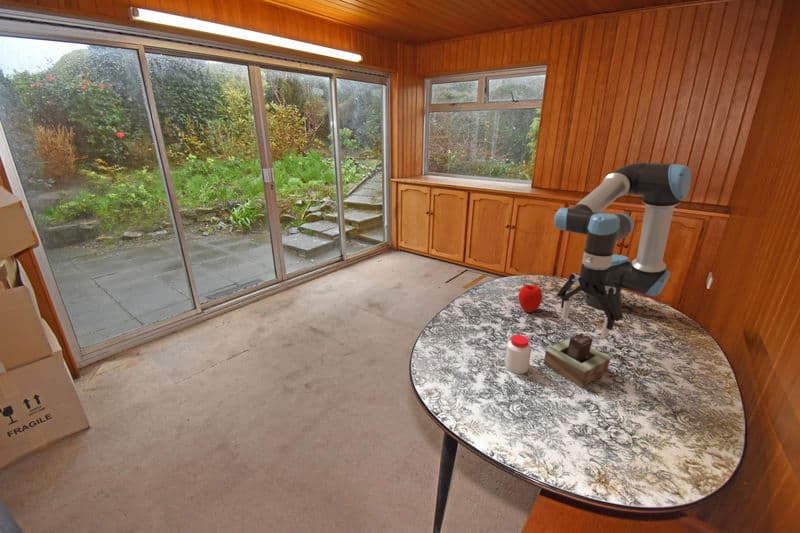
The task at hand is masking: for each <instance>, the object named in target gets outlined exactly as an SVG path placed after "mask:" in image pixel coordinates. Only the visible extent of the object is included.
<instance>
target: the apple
mask: <svg viewBox="0 0 800 533" xmlns="http://www.w3.org/2000/svg"><path fill="white" fill-rule="evenodd" d="M517 299H518V302H519V306H520V307H521V309H522V310H523V311H525V312H526V313H532V312H534V311H536V310H537V309H538V308H539V306H540V305H541V303H542V301H543V291H542V289H541V288H540V287H539V286H537V285H533V284H532V285H531V284H526V285H524V286H522V287H521V288H520V290H519V292H518V298H517Z"/></svg>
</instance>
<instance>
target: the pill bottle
mask: <svg viewBox="0 0 800 533" xmlns="http://www.w3.org/2000/svg"><path fill="white" fill-rule="evenodd" d="M529 342H530V340H529V338H528V337H527V336H525V335H522V334H514V335H512V336H511V337H510V340H508V341H507V344H506V351H505V360H504V367H505V368H506V370H507V371H509V372H511V373H514V374H519V375H520V374H525V373H527V372H528V371H529V369H530V368H529V367H530V360H531V355H532V354H531V353H532V345H531V344H530V343H529Z"/></svg>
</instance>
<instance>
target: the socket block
mask: <svg viewBox="0 0 800 533" xmlns="http://www.w3.org/2000/svg"><path fill="white" fill-rule="evenodd" d="M570 338H571V337H569V338H567V339H565V340H562V341H561V342H558V343H557V344H554V345H552V346H550V347H548V348H546V349H545V354H544V361H543V365H544V366H546V367H548V368H549V369H551V370H552V371H554V372H555V373H558V374H559V375H561V376H562V377H564V378H566V380H569V382H572V383H573V384H575V385H577V386H578V387H580V388H583V387H585V386H588V384H589V383H592V382H594V381H595V380H596V379H598V378H600V377H601V376H604V375H605V374H607V373H608V369H609V366H610V361H611V356H609V355H607V354H605V353H603V352H602V351H600V350H597V349H596V348H594V347H592V346H591V348H590V351H589V355H588V359H587V361H585V362H583V363H580V362H578V361H576V360H575V359H573V358H571V357H569V356H567V351H568V346H569V342H570Z"/></svg>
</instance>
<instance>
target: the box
mask: <svg viewBox="0 0 800 533" xmlns="http://www.w3.org/2000/svg"><path fill="white" fill-rule="evenodd" d="M569 338H570V342H569V346H568V351H567V356H569V357H571V358H573V359H575V360H576V361H578V362H580V363H583V362H585V361H587V359H588V355H589V351H590V348H591V347H592V344H593V338H591V337H590V336H588V335H586V334H584V333H583V332H582V333H579V334H575V335H574V336H572V337H569Z"/></svg>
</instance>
